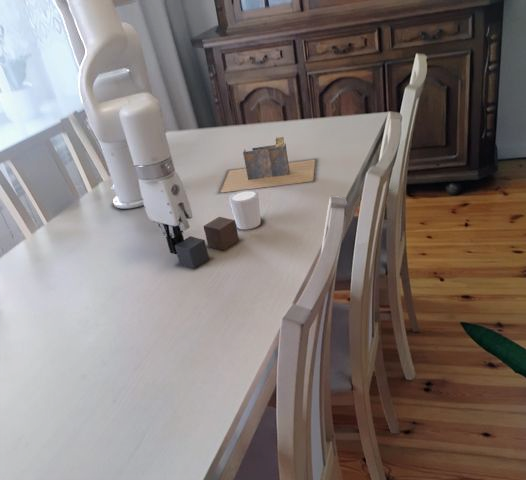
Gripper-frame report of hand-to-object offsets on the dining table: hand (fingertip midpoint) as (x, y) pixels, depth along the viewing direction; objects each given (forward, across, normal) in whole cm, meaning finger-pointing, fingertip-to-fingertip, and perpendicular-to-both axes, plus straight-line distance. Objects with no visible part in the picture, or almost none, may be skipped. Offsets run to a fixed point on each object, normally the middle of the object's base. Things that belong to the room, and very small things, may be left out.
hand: (178, 250), depth 124 cm
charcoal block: (+2, -4, 0) cm, 5 cm away
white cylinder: (+2, -3, -19) cm, 19 cm away
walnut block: (+2, -5, -9) cm, 10 cm away
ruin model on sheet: (+2, +13, -45) cm, 47 cm away
